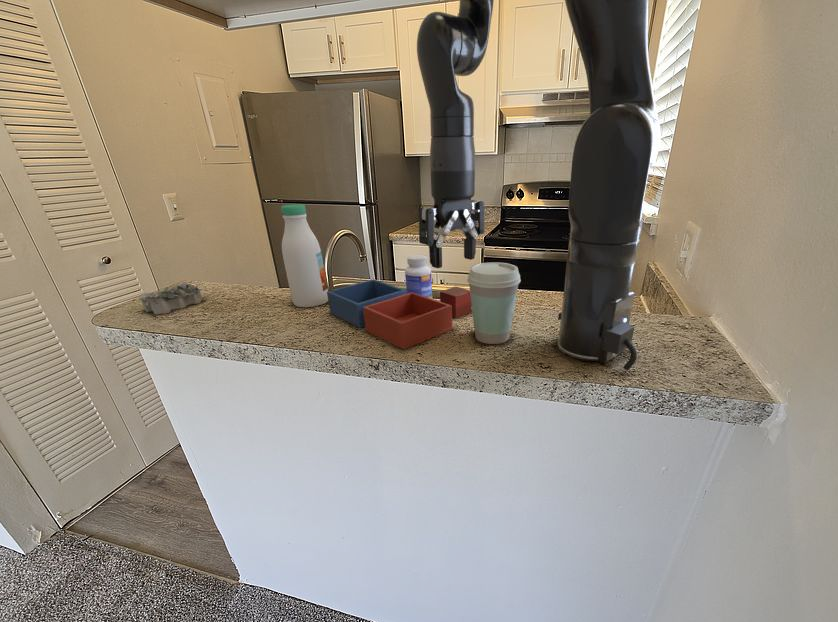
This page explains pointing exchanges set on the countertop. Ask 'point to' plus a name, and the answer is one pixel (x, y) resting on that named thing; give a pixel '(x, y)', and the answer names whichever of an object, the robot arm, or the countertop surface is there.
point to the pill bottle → (418, 276)
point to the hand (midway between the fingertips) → (453, 262)
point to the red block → (457, 300)
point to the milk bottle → (302, 259)
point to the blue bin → (359, 299)
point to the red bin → (408, 319)
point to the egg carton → (171, 298)
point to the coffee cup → (493, 300)
